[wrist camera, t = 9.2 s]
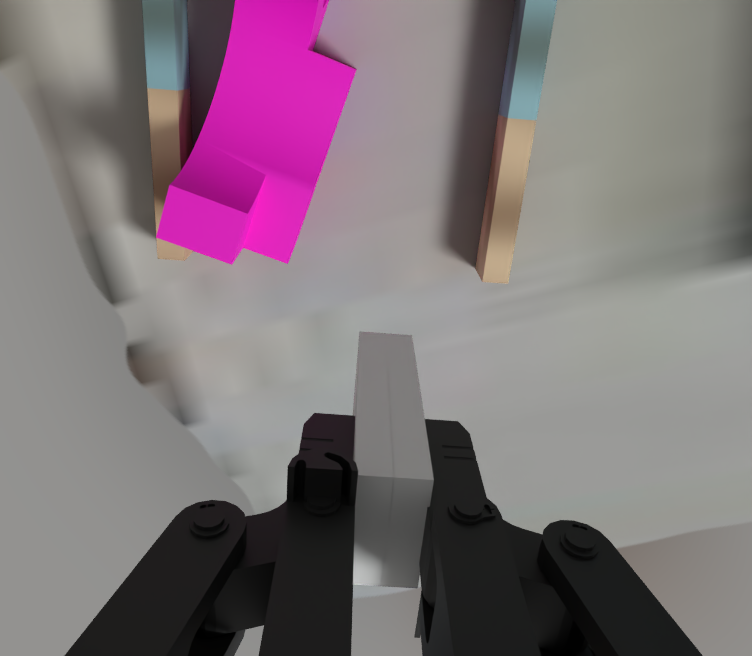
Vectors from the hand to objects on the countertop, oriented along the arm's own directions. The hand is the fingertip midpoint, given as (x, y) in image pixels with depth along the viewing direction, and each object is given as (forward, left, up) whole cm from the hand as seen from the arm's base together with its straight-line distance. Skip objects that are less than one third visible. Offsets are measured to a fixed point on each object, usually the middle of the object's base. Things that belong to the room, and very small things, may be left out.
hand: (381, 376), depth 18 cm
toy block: (-6, -5, -21) cm, 22 cm away
